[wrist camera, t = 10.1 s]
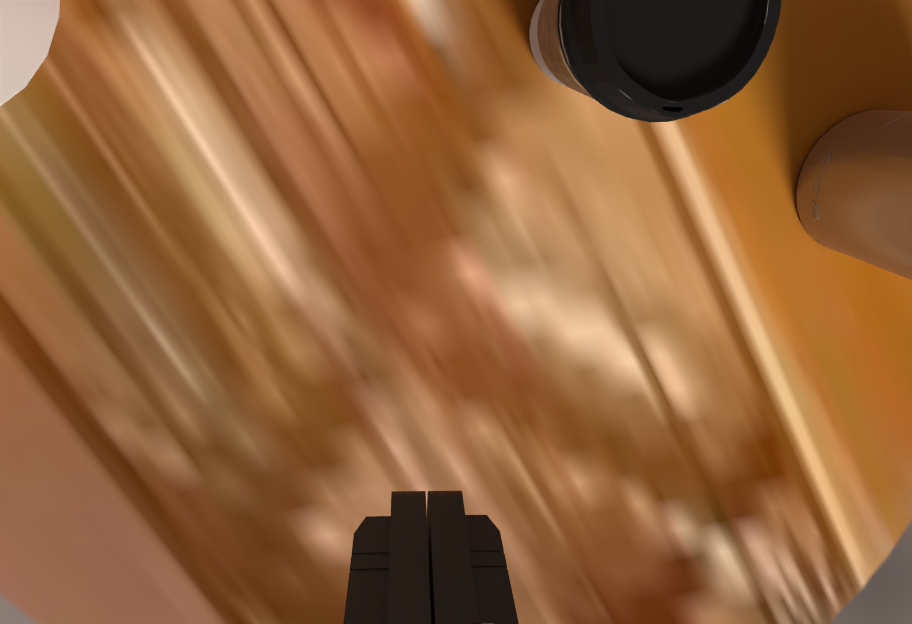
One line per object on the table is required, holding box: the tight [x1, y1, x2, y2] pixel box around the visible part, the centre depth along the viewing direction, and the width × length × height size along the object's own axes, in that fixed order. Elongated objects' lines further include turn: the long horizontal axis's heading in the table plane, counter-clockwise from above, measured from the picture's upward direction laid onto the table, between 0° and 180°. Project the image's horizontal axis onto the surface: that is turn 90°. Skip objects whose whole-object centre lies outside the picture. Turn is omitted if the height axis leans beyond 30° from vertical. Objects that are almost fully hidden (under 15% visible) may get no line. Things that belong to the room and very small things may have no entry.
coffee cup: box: [529, 0, 781, 122], centre depth 30 cm, size 8×8×15 cm
